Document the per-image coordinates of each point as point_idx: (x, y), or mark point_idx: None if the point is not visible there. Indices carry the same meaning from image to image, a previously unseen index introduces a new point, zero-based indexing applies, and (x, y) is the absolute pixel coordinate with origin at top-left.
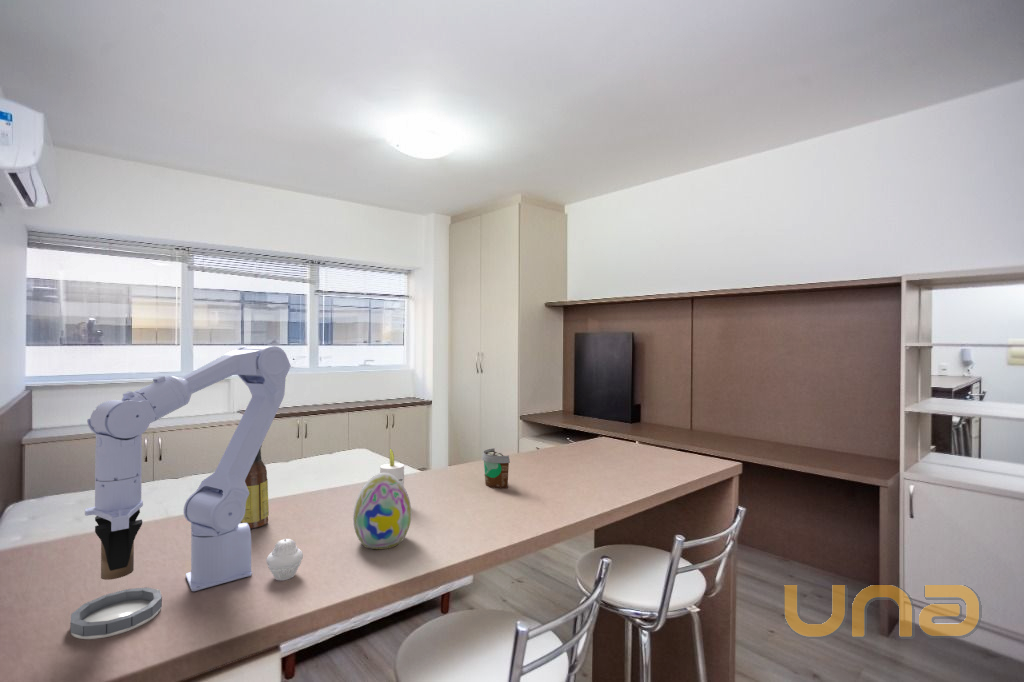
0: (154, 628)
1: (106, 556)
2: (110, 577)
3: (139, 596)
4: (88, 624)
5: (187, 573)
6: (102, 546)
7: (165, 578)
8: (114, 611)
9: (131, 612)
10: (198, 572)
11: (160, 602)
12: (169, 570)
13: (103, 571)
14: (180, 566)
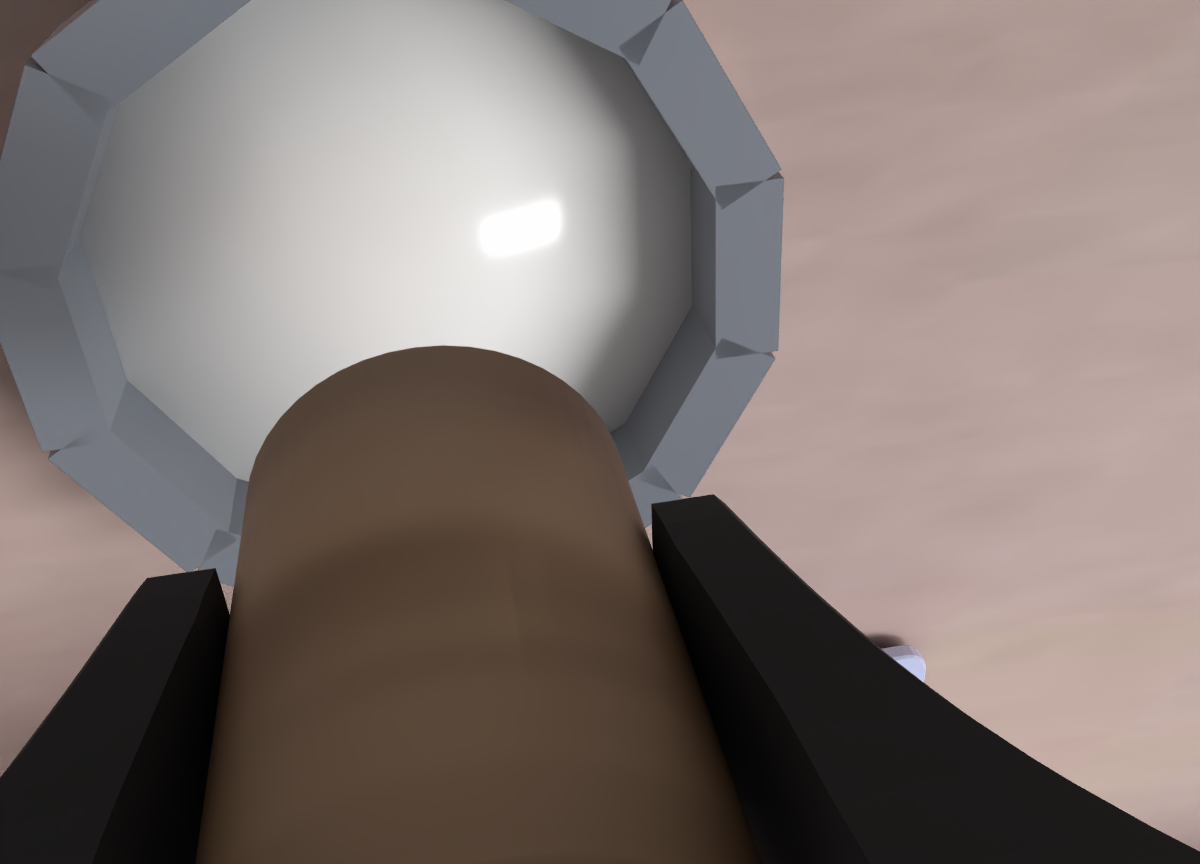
0: (24, 531)
1: (15, 758)
2: (251, 483)
3: (645, 417)
4: (50, 103)
5: (908, 667)
6: (331, 761)
7: (1002, 515)
8: (508, 237)
9: None
10: None
11: None
12: (1146, 527)
13: (303, 455)
14: (1157, 588)
